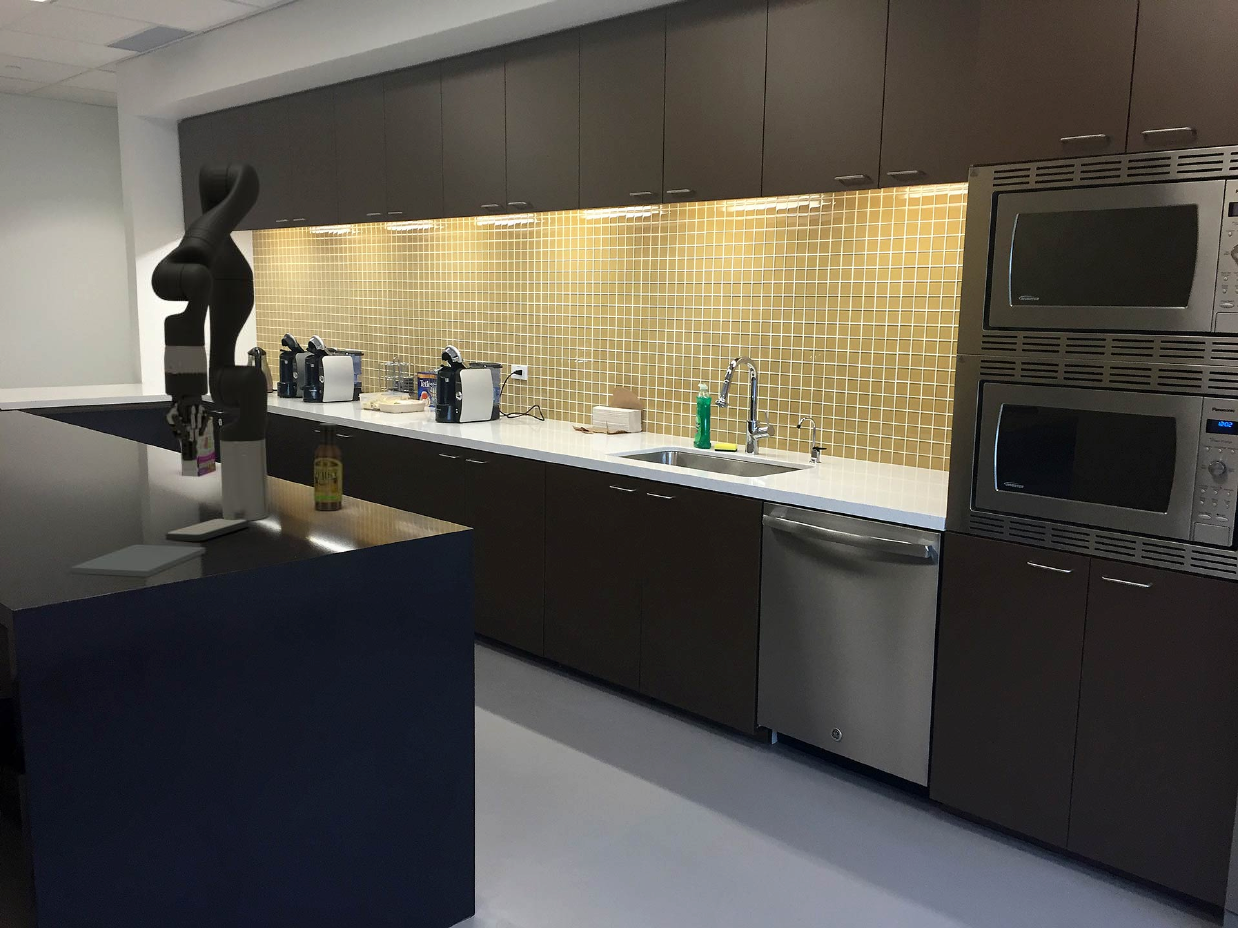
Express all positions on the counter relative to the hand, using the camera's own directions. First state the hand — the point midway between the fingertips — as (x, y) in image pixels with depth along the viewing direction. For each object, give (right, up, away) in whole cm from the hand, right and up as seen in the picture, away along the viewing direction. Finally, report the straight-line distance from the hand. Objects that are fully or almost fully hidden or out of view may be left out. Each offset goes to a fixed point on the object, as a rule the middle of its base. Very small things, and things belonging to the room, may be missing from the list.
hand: (189, 460), depth 189 cm
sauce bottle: (+16, -11, +38) cm, 43 cm away
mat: (-2, -18, -14) cm, 23 cm away
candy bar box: (-32, -5, +80) cm, 87 cm away
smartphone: (-3, -15, +2) cm, 16 cm away
